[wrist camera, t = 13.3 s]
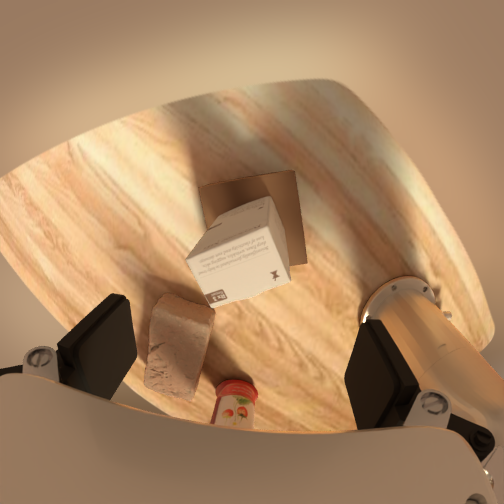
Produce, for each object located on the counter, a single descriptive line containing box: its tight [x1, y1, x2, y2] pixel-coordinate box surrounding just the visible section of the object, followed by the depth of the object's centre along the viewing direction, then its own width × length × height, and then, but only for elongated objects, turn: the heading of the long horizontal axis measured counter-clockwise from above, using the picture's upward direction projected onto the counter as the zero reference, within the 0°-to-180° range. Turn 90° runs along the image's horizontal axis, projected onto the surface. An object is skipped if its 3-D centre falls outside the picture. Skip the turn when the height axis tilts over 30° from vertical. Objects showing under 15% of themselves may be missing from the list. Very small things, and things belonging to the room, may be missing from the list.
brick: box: [144, 293, 216, 402], centre depth 38 cm, size 17×8×5 cm, turn 164°
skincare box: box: [186, 196, 291, 308], centre depth 23 cm, size 6×4×12 cm
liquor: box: [210, 380, 258, 429], centre depth 29 cm, size 7×7×28 cm
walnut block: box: [199, 170, 307, 266], centre depth 32 cm, size 10×10×5 cm
